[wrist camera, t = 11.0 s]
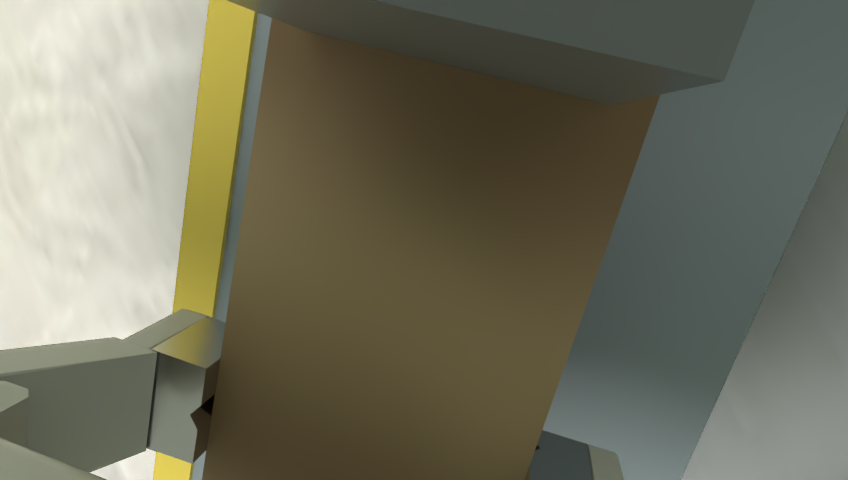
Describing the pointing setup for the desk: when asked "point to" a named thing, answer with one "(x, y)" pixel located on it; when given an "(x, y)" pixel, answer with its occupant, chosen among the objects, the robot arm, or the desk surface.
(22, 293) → the desk surface
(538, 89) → the pallet
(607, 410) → the dock
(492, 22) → the block
